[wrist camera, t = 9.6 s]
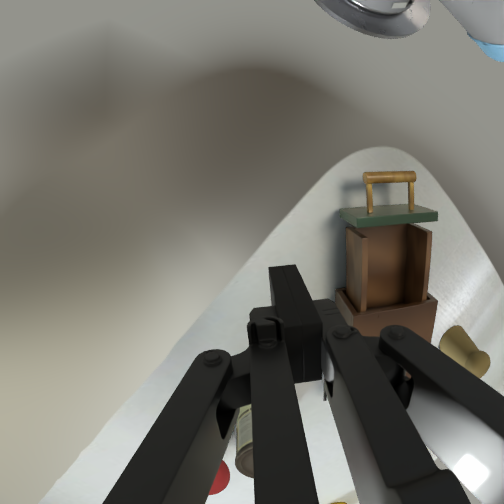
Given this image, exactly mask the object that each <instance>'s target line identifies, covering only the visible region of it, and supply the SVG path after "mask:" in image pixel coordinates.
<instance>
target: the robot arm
mask: <svg viewBox="0 0 504 504" xmlns="http://www.w3.org/2000/svg"><path fill="white" fill-rule="evenodd" d="M347 1H349V2H350V3H352V4H353V5H355V6H357V7H359V8H361V9H363V10H365V11H368V12H370V13H374V14H377V15H383V16H394V15H398V14H401V13H403V12H405V11H406V10H407V9H408V8H410V7H411V5H412V4H413V3H414V1H415V0H347ZM439 1H440V2H441V3H442V4H443V5H444V6H445V7H446V8H447V9H448V10H449V12H451V13H452V15H453V16H454V17H455V18H456V19H457V20H458V21H459V23H460V24H461V25H462V26H463V27H464V29H465V30H466V31H467V34H468V35H469V37H470V38H471V39H473V40H474V41H475V42H476V43H477V44H478V46H479V47H480V48H481V49H482V50H483V52H484V53H485V54H486V55H487V56H489V57H491V58H492V59H494V60H496V61H500V62H504V0H439ZM268 268H269V280H270V291H271V303H272V306H268V307H259V308H253V310H252V311H251V312H250V314H249V315H250V322H248V325H247V332H248V339H249V347H248V348H247V349H246V350H245V351H244V352H242V353H240V354H237V355H234V356H230V354H229V353H228V352H226V351H224V350H219V349H214V350H208V351H204V352H203V353H201V354H199V355H198V356H197V357H196V358H195V360H194V361H193V363H192V364H191V366H190V367H189V369H188V371H187V372H186V374H185V375H184V377H183V379H182V380H181V382H180V383H179V385H178V386H177V388H176V390H175V391H174V393H173V394H172V396H171V398H170V399H169V401H168V402H167V404H166V405H165V407H164V409H163V410H162V412H161V413H160V415H159V416H158V418H157V420H156V421H155V423H154V424H153V426H152V427H151V429H150V431H149V432H148V434H147V435H146V437H145V438H144V440H143V442H142V443H141V445H140V446H139V448H138V449H137V451H136V452H135V454H134V456H133V457H132V459H131V460H130V462H129V463H128V465H127V466H126V468H125V470H124V471H123V473H122V474H121V476H120V477H119V479H118V480H117V482H116V484H115V485H114V487H113V488H112V490H111V491H110V493H109V494H108V496H107V497H106V499H105V501H104V502H103V504H205V502H206V500H207V497H208V495H209V492H210V490H211V487H212V485H213V482H214V480H215V477H216V474H217V472H218V469H219V467H220V464H221V461H222V459H223V456H224V454H225V451H226V448H227V446H228V443H229V440H230V438H231V435H232V432H233V429H234V427H235V424H236V421H237V419H238V416H239V413H240V407H244V406H247V405H250V404H251V413H252V441H253V468H254V494H255V504H319V501H318V497H317V492H316V487H315V482H314V477H313V472H312V467H311V462H310V457H309V452H308V447H307V442H306V438H305V433H304V428H303V423H302V418H301V414H300V409H299V404H298V399H297V395H296V390H295V385H294V384H295V383H302V382H309V381H316V380H322V371H323V374H324V401H326V397H327V398H328V401H329V404H330V407H331V410H332V414H333V417H334V420H335V423H336V426H337V430H338V433H339V436H340V439H341V442H342V446H343V449H344V452H345V456H346V459H347V462H348V466H349V469H350V472H351V476H352V479H353V482H354V486H355V489H356V493H357V496H358V500H359V503H360V504H471V503H470V501H469V499H468V497H467V495H466V494H465V491H464V490H463V488H462V486H461V484H460V482H459V480H460V481H461V482H462V483H463V484H464V485H465V486H466V487H467V488H468V489H469V490H470V491H471V492H472V494H474V495H475V496H476V498H477V499H478V500H479V501H480V502H481V503H482V504H504V396H502V395H501V394H500V393H498V392H497V391H496V390H494V389H493V388H492V387H490V386H489V385H488V384H486V383H485V382H483V381H482V380H481V379H479V378H478V377H477V376H475V375H474V374H472V373H471V372H470V371H468V370H467V369H466V368H464V367H463V366H461V365H460V364H459V363H457V362H456V361H454V360H453V359H452V358H450V357H449V356H447V355H446V354H445V353H443V352H442V351H440V350H439V349H438V348H436V347H435V346H433V345H432V344H430V343H429V342H428V341H426V340H425V339H423V338H422V337H421V336H419V335H418V334H416V333H415V332H413V331H412V330H410V329H409V328H407V327H405V326H401V325H390V326H386V327H384V328H383V329H382V330H381V331H380V336H379V337H375V336H362V335H361V333H360V332H359V330H358V329H357V328H355V327H353V326H350V325H348V324H347V323H346V321H345V319H344V317H343V316H342V314H341V313H340V311H339V309H338V307H337V306H336V304H335V303H334V302H333V301H331V300H329V299H321V300H313V301H312V298H311V296H310V294H309V292H308V290H307V288H306V286H305V284H304V281H303V279H302V277H301V275H300V273H299V271H298V269H297V267H296V265H295V264H294V265H285V266H275V267H268ZM406 371H407V372H408V373H409V374H410V375H411V378H408V377H407V376H406ZM424 443H425V444H424ZM425 445H426V446H427V447H428V448H429V449H430V450H431V451H432V452H433V453H434V454H435V455H436V456H437V457H438V458H439V459H440V460H441V461H442V462H443V463H444V464H445V465H446V466H447V467H448V469H445V470H440V469H439V468H438V467H437V466H436V464H435V463H434V461H433V459H432V457H431V455H430V453H429V451H428V449H427V447H426V446H425ZM458 479H459V480H458Z"/></svg>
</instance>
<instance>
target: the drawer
mask: <svg viewBox="0 0 504 504" xmlns="http://www.w3.org/2000/svg"><path fill="white" fill-rule="evenodd" d="M363 181H364V183H365V184H366V195H367V207H355V208H342V209H340V218H342V219H343V220H345V221H347V222H348V223H350V224H351V225H353V227H346V297H347V299H348V300H349V301H350V303H351V304H352V306H353V307H354V309H355V310H356V311H357V313H359V312H365V311H371V310H377V309H383V308H388V307H394V306H399V305H405V304H410V303H415V302H420V301H425V300H426V298H427V290H428V281H429V271H430V259H431V245H432V231H430V230H427V229H425V228H423V227H421V226H418V225H416V224H414V223H420V222H432V221H438V212H437V211H434V210H431V209H428V208H424V207H421V206H418V205H415V204H414V182H415V181H416V173H415V172H414V171H387V172H364V173H363ZM399 182H408V204H399V205H383V206H373V199H372V184H373V183H399Z"/></svg>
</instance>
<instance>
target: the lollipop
mask: <svg viewBox="0 0 504 504" xmlns="http://www.w3.org/2000/svg"><path fill="white" fill-rule="evenodd" d="M229 480H230V472H229V469H228V466H227V465H226V463H225V462H224V461H223V460H222V461H221V464H220V467H219V469H218V472H217V474H216V477H215V480H214V482H213V485H212V487H211V490H210V492H209V495H213V494H217V493H219V492H221V491H222V490H224V489H225V488H226V486H227V485H228V483H229Z"/></svg>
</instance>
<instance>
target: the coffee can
mask: <svg viewBox="0 0 504 504" xmlns="http://www.w3.org/2000/svg"><path fill="white" fill-rule="evenodd" d="M235 465H236V468H237V469H238V471H239V472H240V473H242V474H243V475H245V476H248V477H250V478H254V468H253V441H252V413H251V404H250V405H247V406H244V407H240V413H239V416H238V419H237V441H236V458H235Z"/></svg>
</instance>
